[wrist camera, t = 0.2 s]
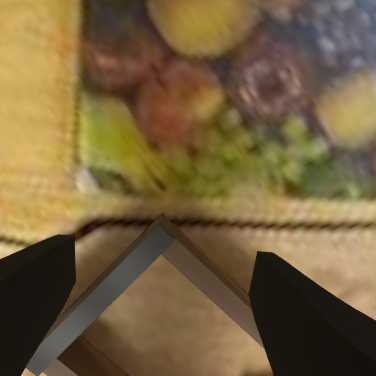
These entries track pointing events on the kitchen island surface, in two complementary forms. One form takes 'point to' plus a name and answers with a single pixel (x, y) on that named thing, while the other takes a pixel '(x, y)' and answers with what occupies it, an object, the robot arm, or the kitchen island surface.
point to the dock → (117, 282)
